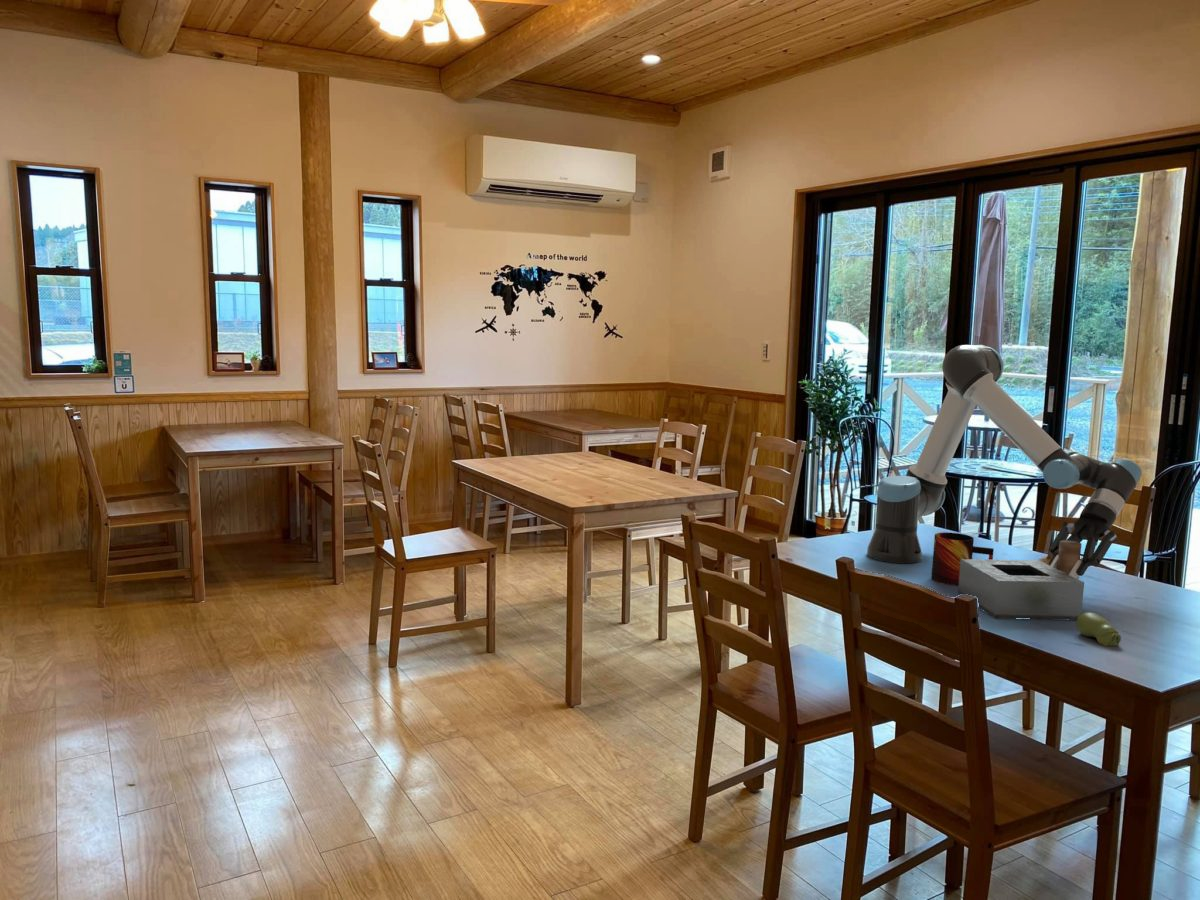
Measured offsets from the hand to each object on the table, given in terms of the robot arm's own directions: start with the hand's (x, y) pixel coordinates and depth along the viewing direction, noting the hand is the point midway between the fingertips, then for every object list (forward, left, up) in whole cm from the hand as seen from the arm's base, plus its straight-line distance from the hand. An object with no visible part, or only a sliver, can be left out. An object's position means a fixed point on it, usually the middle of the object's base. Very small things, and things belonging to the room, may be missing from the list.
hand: (1058, 580), depth 222 cm
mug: (-16, -18, -5) cm, 24 cm away
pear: (+30, -8, -5) cm, 32 cm away
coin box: (+7, -14, -5) cm, 16 cm away
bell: (-26, +13, -5) cm, 29 cm away
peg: (-2, +3, -5) cm, 6 cm away
